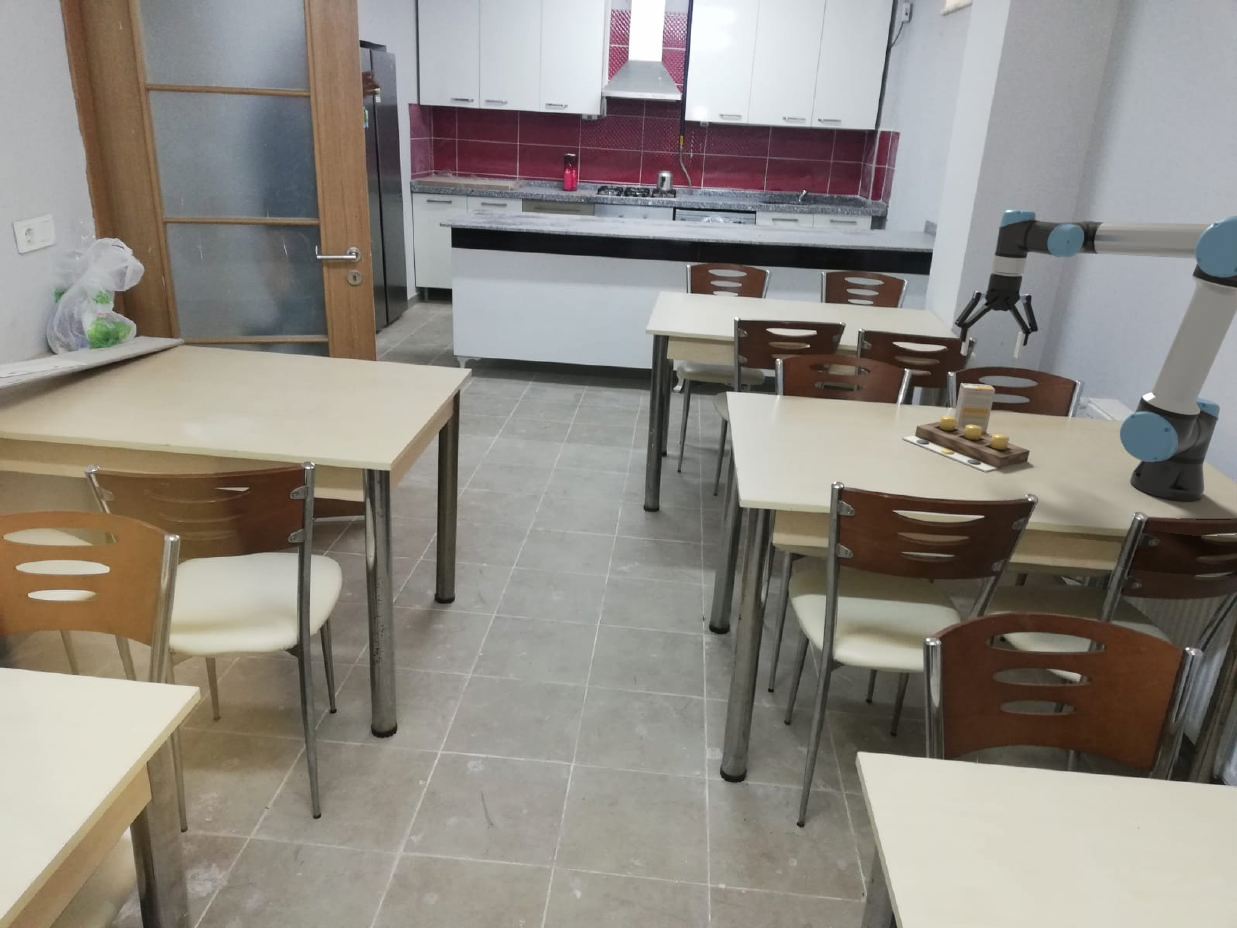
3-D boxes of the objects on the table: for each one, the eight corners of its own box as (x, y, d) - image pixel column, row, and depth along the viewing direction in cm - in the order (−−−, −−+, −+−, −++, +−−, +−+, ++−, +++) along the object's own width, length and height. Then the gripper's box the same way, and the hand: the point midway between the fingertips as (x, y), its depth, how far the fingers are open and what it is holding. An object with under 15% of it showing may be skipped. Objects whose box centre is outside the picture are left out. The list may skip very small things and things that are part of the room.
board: (1027, 461, 224) (1029, 450, 223) (998, 468, 218) (1000, 457, 217) (943, 430, 244) (945, 420, 243) (915, 436, 238) (917, 426, 237)
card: (996, 469, 217) (996, 467, 217) (985, 472, 215) (985, 470, 215) (913, 436, 237) (913, 435, 237) (902, 439, 235) (902, 437, 235)
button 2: (1010, 448, 223) (1012, 437, 222) (1000, 450, 221) (1002, 440, 220) (996, 443, 226) (998, 433, 225) (986, 445, 224) (989, 435, 223)
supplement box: (981, 429, 247) (990, 384, 242) (986, 434, 243) (996, 389, 238) (951, 426, 248) (960, 382, 243) (955, 432, 243) (965, 387, 239)
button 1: (957, 429, 235) (959, 419, 234) (948, 431, 233) (950, 421, 232) (945, 424, 238) (947, 415, 237) (935, 426, 236) (937, 417, 235)
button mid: (983, 438, 229) (985, 428, 228) (973, 440, 227) (975, 430, 226) (970, 433, 232) (972, 423, 231) (960, 435, 230) (962, 425, 229)
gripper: (1051, 274, 222) (1033, 355, 230) (952, 268, 224) (937, 349, 231) (1063, 278, 215) (1044, 362, 223) (960, 272, 217) (945, 356, 224)
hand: (990, 356), depth 227 cm, fingers open, 13 cm apart
